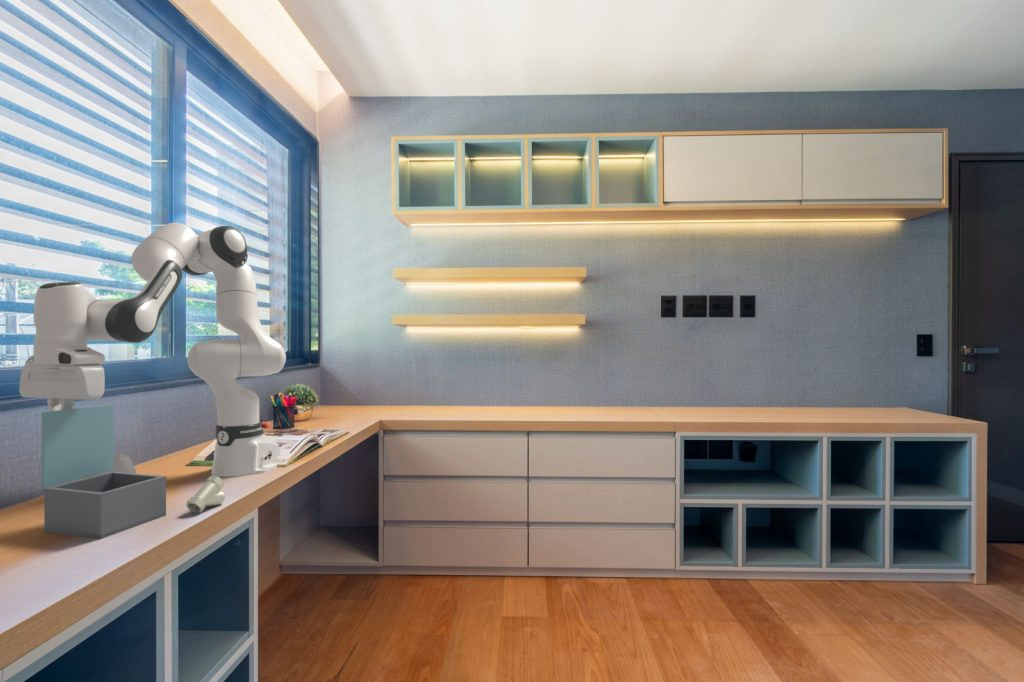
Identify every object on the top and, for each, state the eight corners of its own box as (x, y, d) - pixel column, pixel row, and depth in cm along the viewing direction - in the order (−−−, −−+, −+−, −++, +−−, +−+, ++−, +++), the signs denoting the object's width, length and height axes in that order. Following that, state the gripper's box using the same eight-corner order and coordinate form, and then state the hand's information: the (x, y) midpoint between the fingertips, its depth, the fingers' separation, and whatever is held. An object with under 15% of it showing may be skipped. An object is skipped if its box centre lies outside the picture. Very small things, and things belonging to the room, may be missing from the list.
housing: (113, 511, 118) (113, 471, 118) (166, 517, 114) (166, 476, 114) (44, 533, 105) (44, 488, 105) (100, 540, 101) (100, 494, 101)
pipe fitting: (218, 495, 125) (207, 475, 121) (232, 496, 124) (221, 476, 121) (195, 522, 118) (182, 501, 115) (210, 523, 117) (198, 502, 114)
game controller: (140, 489, 136) (140, 450, 136) (129, 494, 132) (129, 454, 131) (83, 489, 135) (83, 451, 135) (69, 494, 131) (69, 455, 131)
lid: (113, 470, 118) (111, 469, 118) (113, 404, 118) (111, 404, 118) (44, 486, 105) (41, 486, 105) (44, 412, 105) (41, 412, 105)
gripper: (9, 355, 113) (9, 419, 113) (80, 356, 107) (80, 423, 107) (42, 354, 119) (42, 415, 119) (111, 355, 113) (110, 419, 113)
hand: (61, 419), depth 113 cm, fingers closed
